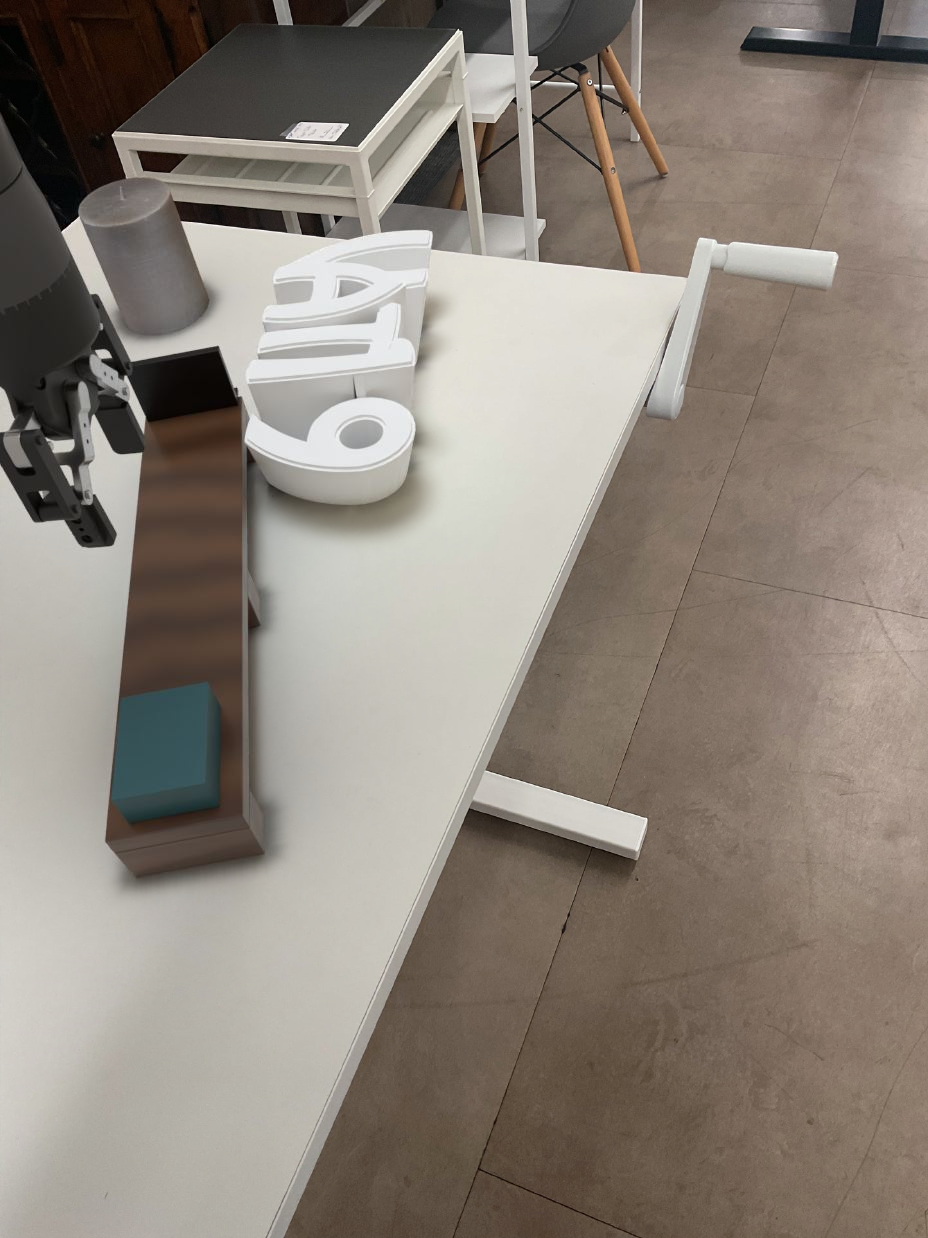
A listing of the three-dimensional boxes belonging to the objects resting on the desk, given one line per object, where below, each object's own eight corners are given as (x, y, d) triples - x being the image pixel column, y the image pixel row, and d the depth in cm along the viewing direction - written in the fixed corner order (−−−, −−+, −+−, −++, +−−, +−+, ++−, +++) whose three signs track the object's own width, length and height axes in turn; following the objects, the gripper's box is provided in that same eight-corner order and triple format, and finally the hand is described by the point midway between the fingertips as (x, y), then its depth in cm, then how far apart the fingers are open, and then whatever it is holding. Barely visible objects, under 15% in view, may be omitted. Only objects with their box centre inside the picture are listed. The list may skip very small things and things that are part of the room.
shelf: (267, 858, 69) (242, 816, 64) (138, 882, 69) (104, 842, 64) (259, 445, 97) (241, 395, 93) (167, 462, 97) (145, 413, 93)
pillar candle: (161, 284, 118) (112, 159, 107) (228, 298, 115) (184, 170, 103) (108, 332, 113) (51, 205, 101) (176, 348, 109) (125, 218, 98)
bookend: (238, 405, 92) (218, 350, 87) (147, 422, 92) (123, 368, 87) (238, 390, 93) (219, 335, 89) (149, 407, 93) (125, 353, 89)
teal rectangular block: (219, 806, 65) (205, 783, 63) (128, 823, 65) (110, 800, 63) (221, 706, 70) (208, 681, 68) (136, 722, 70) (120, 697, 68)
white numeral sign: (311, 308, 111) (287, 218, 103) (458, 300, 109) (446, 208, 101) (239, 538, 89) (202, 448, 81) (422, 535, 87) (402, 442, 79)
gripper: (-27, 205, 57) (89, 427, 70) (-125, 357, 48) (29, 582, 60) (99, 190, 56) (194, 418, 69) (24, 343, 47) (149, 573, 60)
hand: (117, 495), depth 65 cm, fingers open, 8 cm apart
